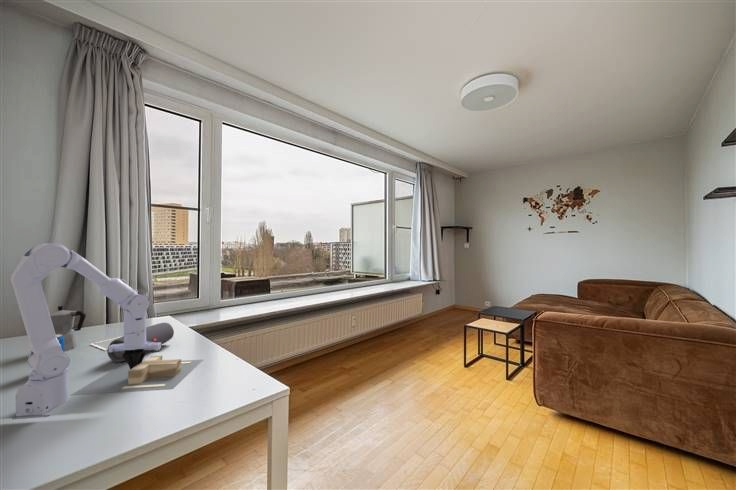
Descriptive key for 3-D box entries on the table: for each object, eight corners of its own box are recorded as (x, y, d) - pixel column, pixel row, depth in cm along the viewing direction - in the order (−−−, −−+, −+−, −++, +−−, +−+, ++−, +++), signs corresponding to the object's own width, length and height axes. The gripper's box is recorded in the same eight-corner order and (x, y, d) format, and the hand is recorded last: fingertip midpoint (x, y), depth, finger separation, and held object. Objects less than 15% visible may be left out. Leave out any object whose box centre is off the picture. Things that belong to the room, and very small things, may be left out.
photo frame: (154, 336, 137) (105, 349, 121) (154, 339, 137) (105, 352, 121) (138, 332, 144) (89, 343, 128) (138, 334, 144) (89, 346, 128)
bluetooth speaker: (130, 366, 106) (130, 338, 106) (105, 365, 107) (105, 337, 107) (175, 344, 129) (175, 321, 129) (155, 343, 130) (154, 321, 130)
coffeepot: (31, 354, 117) (30, 309, 117) (51, 346, 126) (51, 304, 126) (77, 351, 120) (76, 307, 120) (93, 344, 129) (93, 302, 129)
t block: (168, 381, 92) (168, 368, 92) (128, 384, 91) (128, 371, 91) (187, 365, 104) (186, 354, 104) (151, 367, 103) (151, 356, 103)
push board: (173, 392, 88) (172, 388, 88) (70, 398, 84) (70, 394, 84) (203, 362, 110) (203, 359, 110) (123, 366, 106) (123, 362, 106)
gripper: (166, 326, 101) (166, 366, 102) (119, 328, 99) (119, 368, 100) (154, 332, 94) (154, 375, 95) (103, 334, 92) (103, 378, 93)
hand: (135, 372), depth 97 cm, fingers closed
